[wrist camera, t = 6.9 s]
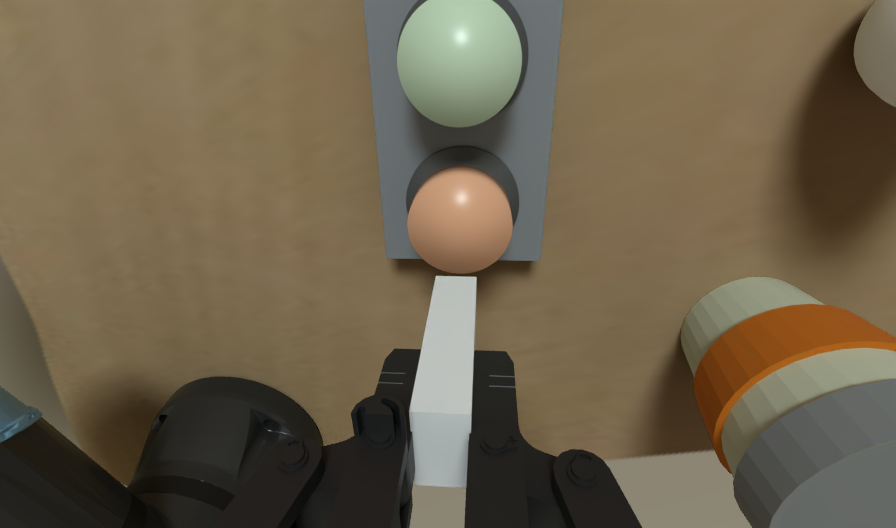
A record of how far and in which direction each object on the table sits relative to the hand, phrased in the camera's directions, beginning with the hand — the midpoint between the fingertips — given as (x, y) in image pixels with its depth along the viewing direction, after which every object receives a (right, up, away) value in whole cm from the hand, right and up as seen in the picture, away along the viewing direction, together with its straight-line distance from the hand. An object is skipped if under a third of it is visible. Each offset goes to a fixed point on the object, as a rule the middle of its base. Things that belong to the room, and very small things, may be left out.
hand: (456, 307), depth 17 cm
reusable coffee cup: (+22, -3, +17) cm, 28 cm away
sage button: (0, +12, +5) cm, 13 cm away
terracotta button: (0, +4, +9) cm, 10 cm away
